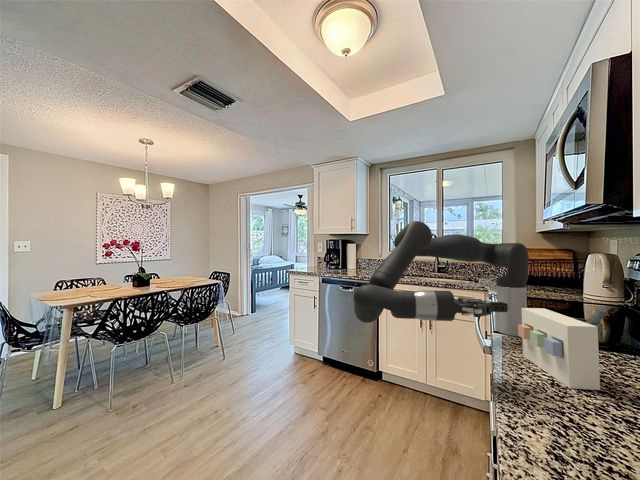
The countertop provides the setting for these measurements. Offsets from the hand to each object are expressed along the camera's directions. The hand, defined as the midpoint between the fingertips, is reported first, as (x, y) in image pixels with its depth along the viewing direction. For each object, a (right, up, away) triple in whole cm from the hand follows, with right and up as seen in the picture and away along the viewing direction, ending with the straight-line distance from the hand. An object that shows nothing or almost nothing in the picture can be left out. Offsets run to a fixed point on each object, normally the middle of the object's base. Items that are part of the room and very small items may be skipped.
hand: (506, 307), depth 69 cm
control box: (+15, -17, +3) cm, 23 cm away
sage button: (+11, -11, +4) cm, 16 cm away
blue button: (+10, -11, -2) cm, 15 cm away
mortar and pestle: (+42, -18, +23) cm, 51 cm away
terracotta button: (+12, -11, +10) cm, 19 cm away
